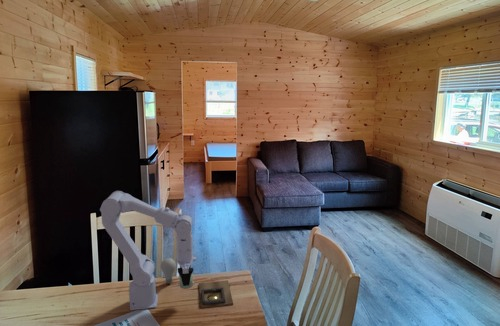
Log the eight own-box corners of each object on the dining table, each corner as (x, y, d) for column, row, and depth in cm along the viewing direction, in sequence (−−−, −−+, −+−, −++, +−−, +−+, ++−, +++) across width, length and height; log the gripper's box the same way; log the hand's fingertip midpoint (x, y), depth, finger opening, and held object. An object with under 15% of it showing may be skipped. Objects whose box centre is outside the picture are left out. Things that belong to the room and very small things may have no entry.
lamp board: (200, 308, 133) (200, 306, 133) (198, 284, 148) (198, 283, 148) (233, 304, 135) (233, 303, 135) (227, 281, 150) (227, 280, 150)
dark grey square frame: (202, 305, 134) (202, 302, 133) (201, 292, 142) (201, 289, 141) (225, 302, 135) (225, 299, 135) (222, 290, 143) (222, 287, 143)
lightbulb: (168, 289, 145) (167, 264, 142) (158, 284, 148) (157, 259, 146) (179, 282, 149) (178, 258, 147) (170, 277, 153) (168, 254, 151)
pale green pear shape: (178, 289, 132) (177, 277, 131) (178, 282, 137) (177, 270, 136) (194, 287, 133) (194, 275, 132) (194, 281, 138) (193, 269, 137)
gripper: (196, 256, 126) (197, 291, 129) (195, 238, 139) (196, 270, 142) (176, 257, 124) (177, 293, 127) (176, 239, 138) (177, 272, 141)
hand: (186, 281), depth 135 cm, fingers closed on pale green pear shape, 5 cm apart
